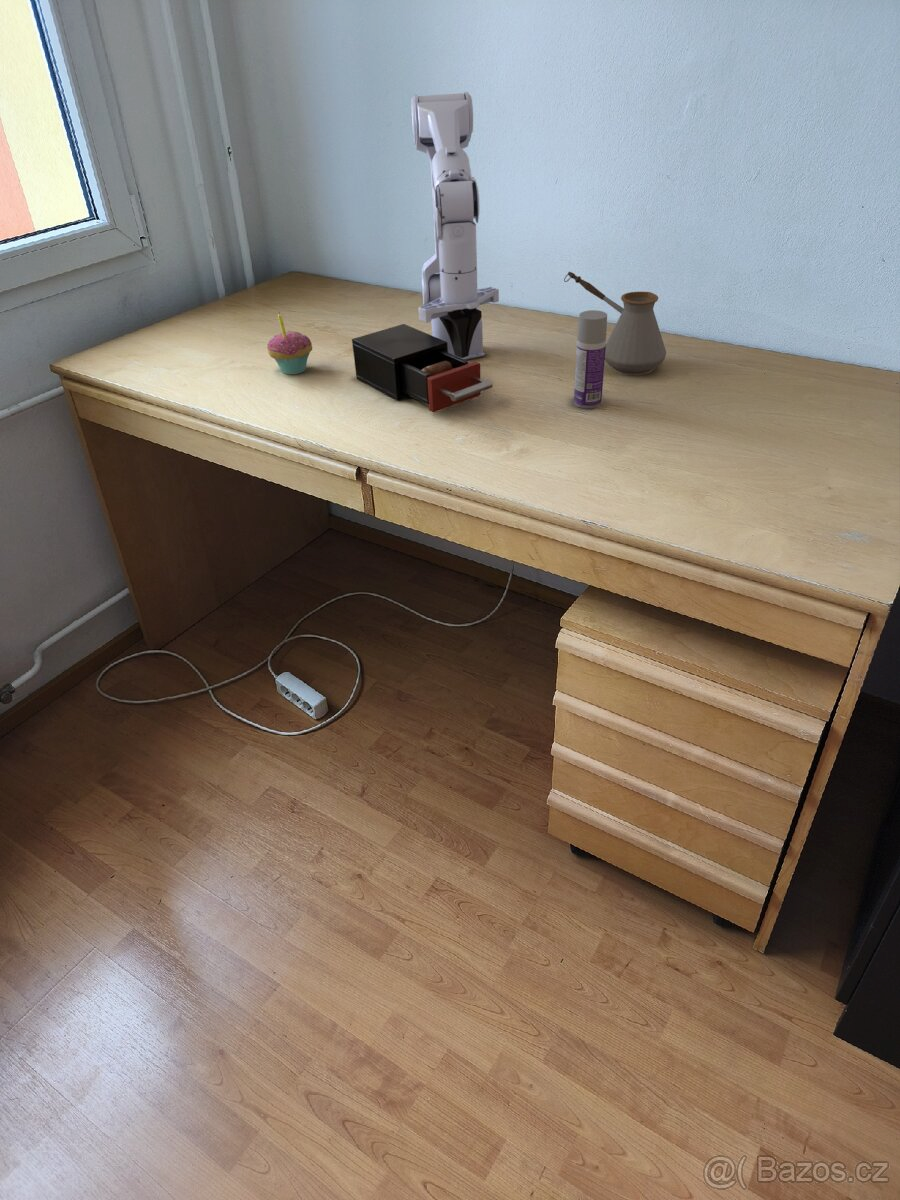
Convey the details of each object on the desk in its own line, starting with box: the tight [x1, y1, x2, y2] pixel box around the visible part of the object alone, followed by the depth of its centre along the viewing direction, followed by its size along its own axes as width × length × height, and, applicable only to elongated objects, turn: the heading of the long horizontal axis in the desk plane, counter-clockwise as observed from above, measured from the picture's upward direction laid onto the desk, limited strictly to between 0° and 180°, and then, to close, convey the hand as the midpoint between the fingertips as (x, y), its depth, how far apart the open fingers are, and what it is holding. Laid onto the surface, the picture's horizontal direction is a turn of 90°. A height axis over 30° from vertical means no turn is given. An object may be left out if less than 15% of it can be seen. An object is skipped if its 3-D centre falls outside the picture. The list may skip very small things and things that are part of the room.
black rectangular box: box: [351, 323, 448, 401], centre depth 146 cm, size 14×12×8 cm
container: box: [573, 309, 608, 410], centre depth 132 cm, size 5×5×15 cm
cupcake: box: [267, 310, 313, 375], centre depth 151 cm, size 9×8×12 cm
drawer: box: [398, 349, 494, 414], centre depth 137 cm, size 17×10×6 cm, turn 38°
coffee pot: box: [563, 271, 667, 376], centre depth 146 cm, size 21×12×15 cm, turn 49°
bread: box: [421, 361, 454, 377], centre depth 138 cm, size 6×4×4 cm, turn 128°
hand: (461, 355), depth 130 cm, fingers closed
